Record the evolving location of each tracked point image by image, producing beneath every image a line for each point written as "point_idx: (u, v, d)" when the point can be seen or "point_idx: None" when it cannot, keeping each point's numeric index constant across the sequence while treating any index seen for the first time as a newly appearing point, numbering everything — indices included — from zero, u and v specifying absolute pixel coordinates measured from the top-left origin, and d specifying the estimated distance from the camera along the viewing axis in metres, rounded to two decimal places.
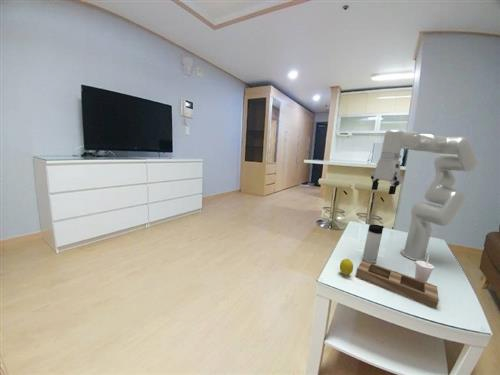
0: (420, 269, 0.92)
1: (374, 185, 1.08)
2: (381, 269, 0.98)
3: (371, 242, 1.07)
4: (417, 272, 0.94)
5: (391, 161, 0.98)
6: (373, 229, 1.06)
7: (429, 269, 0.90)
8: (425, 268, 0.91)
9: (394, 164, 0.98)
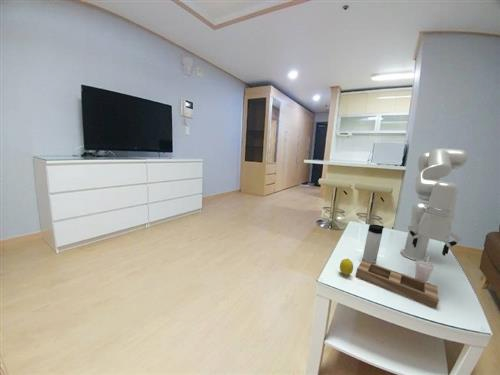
0: (420, 269, 0.92)
1: (443, 248, 0.89)
2: (381, 269, 0.98)
3: (371, 242, 1.07)
4: (417, 272, 0.94)
5: None
6: (373, 229, 1.06)
7: (429, 269, 0.90)
8: (425, 268, 0.91)
9: None
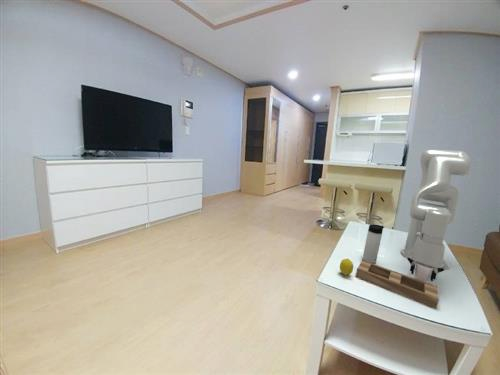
0: (420, 269, 0.92)
1: (431, 273, 0.93)
2: (381, 269, 0.98)
3: (371, 242, 1.07)
4: (417, 272, 0.94)
5: None
6: (373, 229, 1.06)
7: (429, 269, 0.90)
8: (425, 268, 0.91)
9: None
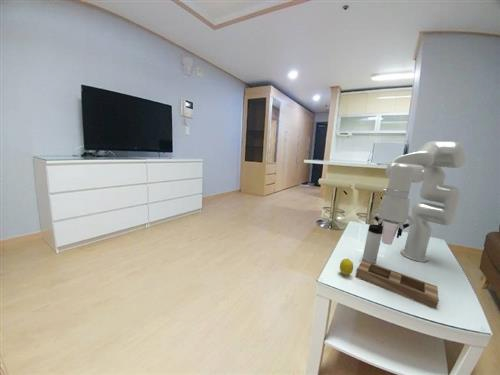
0: (386, 226, 0.90)
1: None
2: (381, 269, 0.98)
3: (371, 242, 1.07)
4: (383, 230, 0.91)
5: None
6: (373, 229, 1.06)
7: (394, 225, 0.88)
8: (391, 224, 0.88)
9: None
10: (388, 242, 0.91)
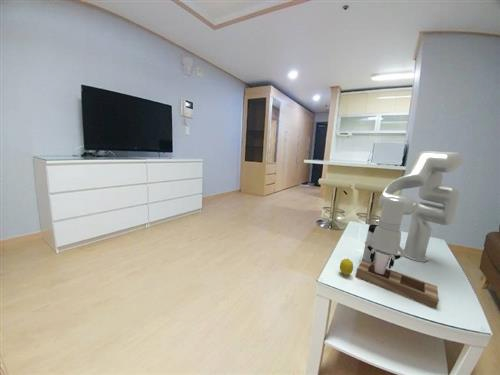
0: (378, 256, 0.92)
1: None
2: None
3: None
4: (376, 260, 0.94)
5: None
6: (373, 229, 1.06)
7: (386, 256, 0.91)
8: (383, 255, 0.91)
9: None
10: (380, 272, 0.93)
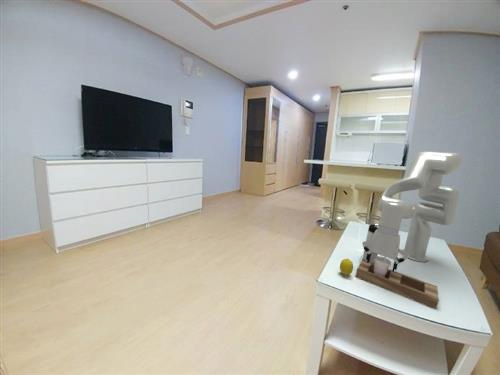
0: (378, 265, 0.93)
1: None
2: None
3: None
4: (375, 267, 0.95)
5: None
6: (373, 229, 1.06)
7: (386, 265, 0.91)
8: (382, 264, 0.92)
9: None
10: None
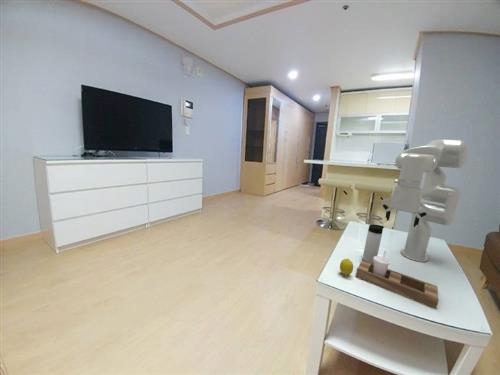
0: (377, 264, 0.93)
1: None
2: None
3: (371, 242, 1.07)
4: (374, 267, 0.95)
5: None
6: (373, 229, 1.06)
7: (385, 264, 0.91)
8: (381, 263, 0.92)
9: None
10: None
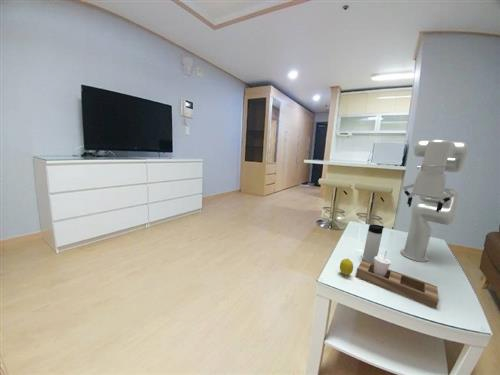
0: (377, 264, 0.93)
1: (437, 205, 0.91)
2: None
3: (371, 242, 1.07)
4: (375, 267, 0.95)
5: None
6: (373, 229, 1.06)
7: (385, 264, 0.91)
8: (381, 263, 0.92)
9: None
10: None
